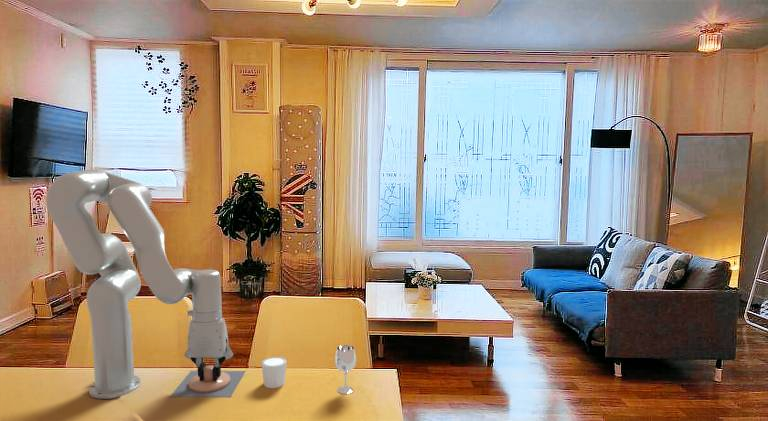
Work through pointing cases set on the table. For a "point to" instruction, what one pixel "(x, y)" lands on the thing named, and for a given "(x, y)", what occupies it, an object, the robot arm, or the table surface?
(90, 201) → the robot arm
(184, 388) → the mat
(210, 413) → the table surface
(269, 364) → the white cup
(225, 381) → the lid
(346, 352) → the wineglass
